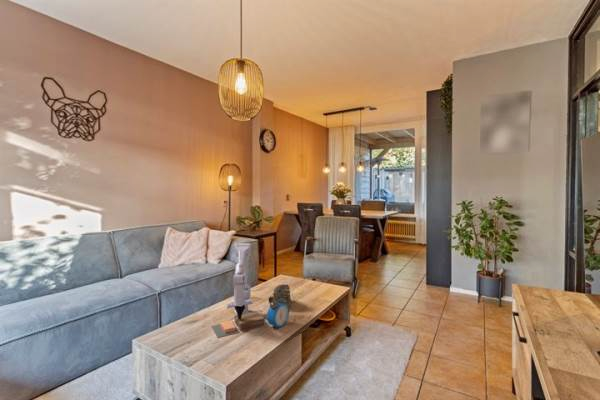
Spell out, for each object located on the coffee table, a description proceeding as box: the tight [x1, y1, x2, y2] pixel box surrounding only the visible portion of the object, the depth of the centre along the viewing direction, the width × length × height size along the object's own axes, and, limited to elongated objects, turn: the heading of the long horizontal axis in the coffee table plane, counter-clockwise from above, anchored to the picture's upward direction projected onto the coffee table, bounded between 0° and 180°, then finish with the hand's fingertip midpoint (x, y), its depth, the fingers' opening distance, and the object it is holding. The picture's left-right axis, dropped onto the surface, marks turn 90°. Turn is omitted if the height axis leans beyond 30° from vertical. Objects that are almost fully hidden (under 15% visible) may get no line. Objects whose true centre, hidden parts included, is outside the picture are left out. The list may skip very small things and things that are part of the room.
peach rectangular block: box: [220, 320, 237, 333], centre depth 164 cm, size 9×6×2 cm, turn 30°
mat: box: [211, 321, 241, 338], centre depth 163 cm, size 14×12×1 cm
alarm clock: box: [266, 298, 290, 329], centre depth 169 cm, size 13×6×15 cm, turn 142°
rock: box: [268, 283, 292, 307], centre depth 197 cm, size 18×14×15 cm
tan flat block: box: [234, 310, 265, 332], centre depth 170 cm, size 12×14×4 cm
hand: (239, 318), depth 167 cm, fingers closed
